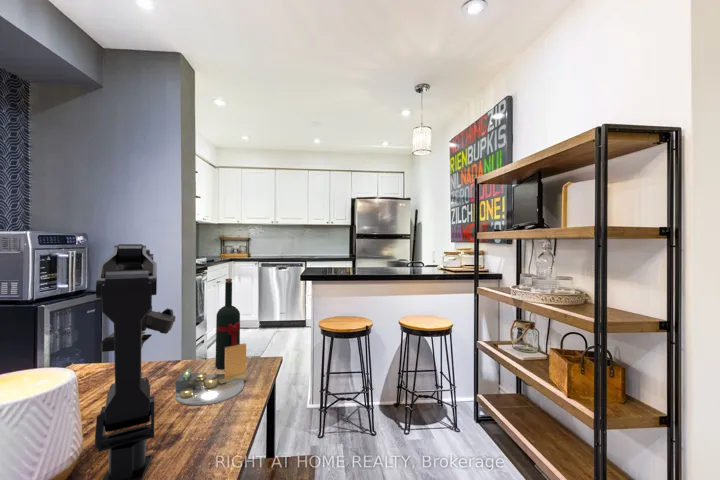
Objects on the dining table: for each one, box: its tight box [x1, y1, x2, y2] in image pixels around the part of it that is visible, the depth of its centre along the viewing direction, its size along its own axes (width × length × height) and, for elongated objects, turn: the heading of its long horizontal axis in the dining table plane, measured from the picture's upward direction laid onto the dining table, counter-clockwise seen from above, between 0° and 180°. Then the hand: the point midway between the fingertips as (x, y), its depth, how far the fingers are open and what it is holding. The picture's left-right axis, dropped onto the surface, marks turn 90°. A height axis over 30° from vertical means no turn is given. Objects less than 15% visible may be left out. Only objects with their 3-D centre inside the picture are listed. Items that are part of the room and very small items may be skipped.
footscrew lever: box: [204, 342, 247, 388], centre depth 98 cm, size 12×4×10 cm, turn 130°
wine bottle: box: [214, 278, 241, 370], centre depth 114 cm, size 8×10×30 cm
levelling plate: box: [174, 368, 245, 407], centre depth 95 cm, size 18×18×6 cm
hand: (132, 368), depth 77 cm, fingers closed
